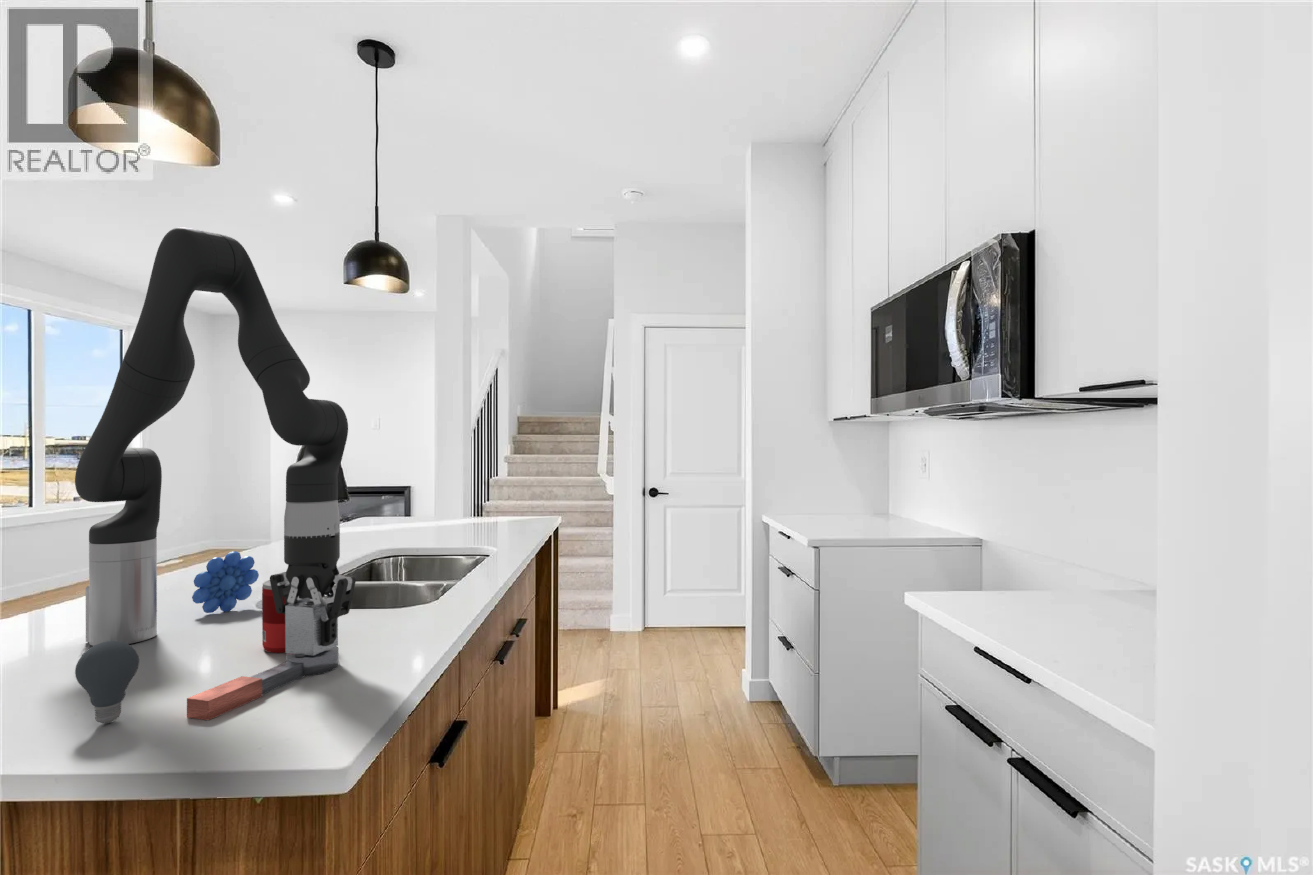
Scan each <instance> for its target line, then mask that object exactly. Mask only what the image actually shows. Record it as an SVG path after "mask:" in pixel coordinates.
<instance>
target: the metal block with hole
mask: <svg viewBox="0 0 1313 875" xmlns="http://www.w3.org/2000/svg"><path fill="white" fill-rule="evenodd" d="M327 608H328V611H329V612H330V604H327ZM321 622H322V619H321V616H320V607H319V606H315V605H314V602H313V599H310V600H307V601H303V602H300V603H297V604H294V605H293V604H290V605H286V606H285V654H287V653H292V654H302V655H313V656H314V655H316V654H319V653H321V652H323V651H326V650H328V649H330V648H333V647H335V646H337V647H338V646H339V617H338V618H337V637H336V640H335V641H334V643H333V644H330V645H328V646H322V645H321Z"/></svg>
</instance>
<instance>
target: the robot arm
mask: <svg viewBox="0 0 1313 875" xmlns="http://www.w3.org/2000/svg"><path fill="white" fill-rule="evenodd" d="M158 245H159V246H158V248H157V251H156V253H155V257H154V262H153V266H152V270H151V273H150V277H149V282H148V287H147V291H146V294H145V299H144V303H143V305H142V309H141V312H140V316H139V317H138V318H139V319H138V321H137V323H136V326H135V330H134V332H133V335H132V338H131V339H130V340H131V341H130V343H129V345H128V347H127V349H126V351H125V354H124V357H123V360H122V361H121V364H120V366H119V370H118V372H117V375H116V377H115V382H114V384H113V388H112V389H111V393H110V395H109V398H108V401H107V403H106V406H105V408H104V411H103V413H102V415H101V418H100V419H99V421H98V424H97V425H96V427H95V429H94V431H93V433H92V434H91V437H90V438H89V440H88V442H87V444H86V445H85V448H84V449H83V451H82V454H81V455H80V458H79V460H78V463H77V466H76V470H75V475H74V485H75V490H76V492H77V496H78V497H80V498H81V499H82V500H83V501H86V502H90V503H91V502H92V503H111V502H112V503H114V502H124V506H123V508H122V509H121V510H120V511H119V512H117V513H116V514H115V515H113V516H111V517H109V518H107V519H105V520H102V521H100V522H97V523H95V524H93V525H91V527H90V528H89V531H88V579H89V580H88V585H87V586H86V587H85V642H87V643H88V644H89V645H90V646H91V647H93V646H94V645H97V644H99V643H102V642H106V641H121V642H125V643H127V644H129V645H130V644H134V643H139V642H143V641H147V640H149V639H151V638H154V637H157V634H158V631H157V630H158V625H157V624H158V622H157V621H158V618H157V617H158V585H157V584H158V571H157V570H158V563H157V562H158V557H157V556H158V555H157V554H158V552H157V550H158V548H157V545H158V544H157V537H158V536H157V535H158V534H157V533H158V532H157V531H158V526H159V522H160V515H161V511H160V510H161V497H162V496H161V495H162V494H161V493H162V482H163V479H162V478H163V474H162V473H163V472H162V466H161V460H160V458H159V456H158V455H157V453H156V452H155V451H154V450H152V449H151V448H148V447H147V448H146V447H129V445H130V444H131V442H133V440H134V439H135V438H136V437H137V436H138V435H140V434H141V433H142V432H144V430H146V429H147V428H149V427H150V426H151V425H153V424H154V423H155V422H157V421H158V420H159V419H161V418H162V417H163V416H165V415H166V414H168V413H169V412H170V411H171V410H172V409H174V408H175V407H176V406H177V405H178V404H179V403H180V401H181V400H182V399H183V397H184V395H185V393H186V390H187V388H188V385H189V383H190V380H191V378H192V376H193V372H194V369H195V366H196V365H195V363H196V359H195V354H194V351H193V347H192V345H191V342H190V339H189V336H188V334H187V330H186V327H185V314H186V311H187V308H188V304H189V302H190V299H191V297H192V295H193V294H194V292H195V291H198V292H206V293H214V294H215V293H217V294H222V295H223V296H224V297H225V298H226V299H227V300H228V301H229V302H230V304H231V305H232V306H233V308H234V310H235V311H236V313H237V316H238V333H237V346H238V351H239V354H240V358H241V359H242V362H243V364H244V365H245V367H246V368H247V370H248V371H249V373H250V374H251V376H252V378H253V380H254V381H255V382H256V384H257V386H258V387H259V389H260V390H261V392H262V397H263V402H264V405H265V408H266V411H267V415H268V417H269V418H268V419H269V421H270V424H271V427H272V428H273V430H274V432H275V433H276V434H277V436H278V437H280V438H281V440H283V441H284V442H285V443H288V444H290V445H292V446H301V447H303V446H305V449H304V453H303V456H302V458H301V460H299V461H296V462H294V463H292V464H290V465H289V466H288V467H287V470H286V473H285V474H286V475H285V509H284V515H283V516H284V517H283V561H284V563H285V564H286V565H287V569H286V571H284V572H279V573H274V574H271V575H270V576H269V580H270V583H271V588H272V593H273V598H274V603H275V608H276V612H277V613H278V614H280V613H283V614H285V606H286V605H290V604H293V605H294V604H297V603H300V602H303V601H307V600H310V599H313V602H314V605H315V606H319V607H320V616H321V619H322V622H321V645H322V646H328V645H330V644H333V643H334V641H335V640H336V637H337V618H338V619H339V617H342V616H345V615H348V614H349V613H350V610H351V609H350V608H351V605H352V600H353V595H354V589H355V586H356V582H357V580H356V577H355V576H353V575H351V576H345V575H342V574H340V571H339V569H338V566H337V565H338V564H337V563H338V561H339V559H340V558H341V557H340V556H341V549H340V548H341V545H340V544H341V543H340V542H341V540H340V539H341V537H340V536H341V533H340V532H341V525H340V524H341V522H340V520H341V519H340V508H339V500H338V499H339V478H338V473H339V470H340V465H341V464H342V460H343V456H344V452H345V449H346V444H347V441H348V440H347V439H348V434H349V423H348V418H347V415H346V412H345V410H344V408H342V407H341V405H340V404H338V403H337V402H334V401H332V400H329V399H315V398H309V397H308V396H307V395H306V394H305V393H304V391H305V390H306V389H307V388H308V387H309V385H310V382H311V377H310V373H309V371H308V369H307V368H306V366H305V364H304V362H303V361H302V360H301V357H300V356H299V355H298V353H297V352H296V350H295V349H294V348H293V346H292V344H291V343H290V341H289V340H288V338H287V336H286V335H285V333H284V331H283V330H282V328H281V326H280V324H279V322H278V320H277V318H276V315H275V313H274V311H273V309H272V306H271V304H270V301H269V298H268V296H267V293H266V292H265V289H264V287H263V285H262V282H261V279H260V278H259V275H258V273H257V270H256V268H255V266H254V264H253V261H252V260H251V257H250V255H249V253H248V252H247V250H246V249H245V247H244V245H243V244H241V243H240V242H239V241H238V240H237V239H235V238H233V237H231V236H228V235H224V234H220V233H214V232H210V231H204V230H200V229H196V228H190V227H183V226H182V227H181V226H179V227H174V228H172V229H170V230H169V231H168V232H167V233H165V235H164V236H163V238H162V239H161V242H160V244H158ZM283 596H284V599H285V604H284V602H283ZM326 597H327V598H326ZM327 604H330V612H329V611H328V608H327Z"/></svg>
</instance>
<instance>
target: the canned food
mask: <svg viewBox="0 0 1313 875" xmlns="http://www.w3.org/2000/svg"><path fill="white" fill-rule="evenodd" d="M283 602H284V604H285V599H284V596H283ZM261 610H262V611H261V614H262V616H261V617H262V618H261V620H262V621H261V622H262V625H261V626H262V632H261V634H262V638H261V639H262V641H261V642H262V647H263V650H264V651H265V652H268V653H272V654H273V653H274V654H284V653H285V614H283V613H280V614H278V613H277V612H276V608H275V603H274V598H273V593H272V588H271V583H270V579H269V580H266V581H264V582H263V583H262V587H261ZM285 654H286V653H285Z"/></svg>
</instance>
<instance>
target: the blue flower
mask: <svg viewBox="0 0 1313 875" xmlns="http://www.w3.org/2000/svg"><path fill="white" fill-rule="evenodd" d="M255 562H256V561H255V559H254V557H253V556H249V555H248V556H247V555H246V556H243V557H242V556H241V552H238V551H236V550H235V551H230V552H228V553H227V554H225V556H224V558H222V557H219V556H215V557H213V558H211V559H210V560H208V562H207V564H206V571H200V572H199V573H198V574H196V575H195V577H194V579H193V584H194V587H196V588H197V589H196V590H195V591H194V592H193V594H192V595H191V599H192V602H193V603H195V604H202V607H201V608H202V611H203V612H204V613H206V614H211V613H214V612H216V611H217V610H218V609H220V611H222V612H224V613H225V612H230V611H232V610H233V609H234V608H236V606H237V603H238V601H246V600H247V599H248V598H249V597H251V595H252V592H253V590H252V586H251V585H253V584H255V583H256V582H257V581H258V579H259V576H260V575H259V572H258V570H256V569H254V565H255ZM252 568H253V569H252Z"/></svg>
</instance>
